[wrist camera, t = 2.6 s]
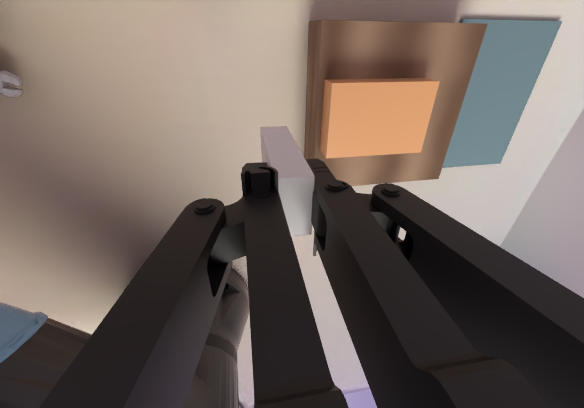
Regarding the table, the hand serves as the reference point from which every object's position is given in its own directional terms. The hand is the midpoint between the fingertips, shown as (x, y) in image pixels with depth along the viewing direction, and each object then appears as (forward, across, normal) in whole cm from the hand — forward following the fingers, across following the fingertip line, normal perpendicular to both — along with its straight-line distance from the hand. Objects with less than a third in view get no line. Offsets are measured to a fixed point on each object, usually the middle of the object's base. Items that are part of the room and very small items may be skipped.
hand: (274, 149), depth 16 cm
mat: (+12, -25, 0) cm, 27 cm away
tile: (+8, -10, 0) cm, 13 cm away
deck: (+12, -12, 0) cm, 17 cm away
